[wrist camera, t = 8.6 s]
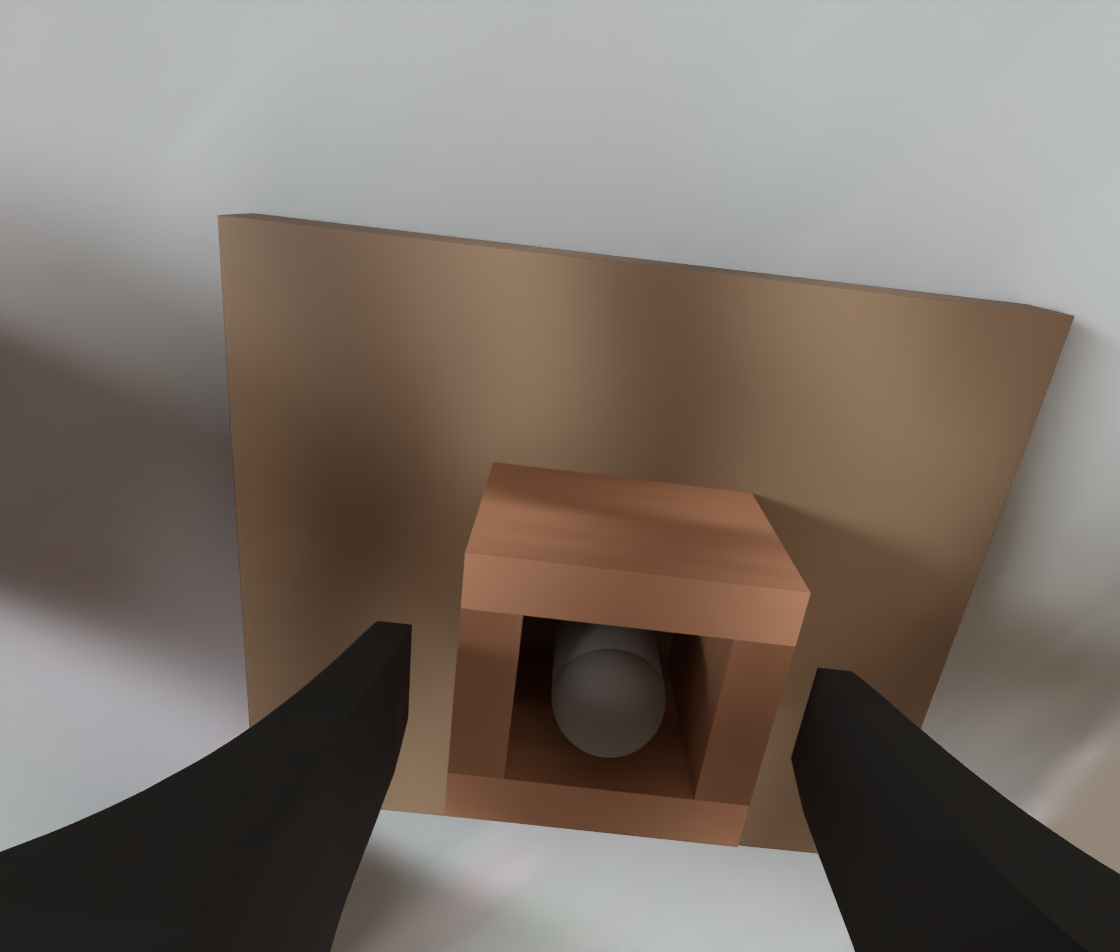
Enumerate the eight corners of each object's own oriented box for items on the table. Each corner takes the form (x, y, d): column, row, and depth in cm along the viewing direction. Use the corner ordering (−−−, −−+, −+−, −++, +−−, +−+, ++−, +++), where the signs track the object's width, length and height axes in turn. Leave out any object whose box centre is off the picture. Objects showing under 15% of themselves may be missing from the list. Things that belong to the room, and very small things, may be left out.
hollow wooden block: (473, 677, 17) (444, 815, 13) (493, 461, 15) (464, 552, 11) (701, 702, 17) (737, 846, 13) (751, 492, 15) (810, 592, 11)
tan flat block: (276, 753, 20) (157, 976, 14) (252, 213, 14) (47, 224, 9) (851, 812, 20) (958, 1052, 14) (1027, 304, 15) (1302, 371, 9)
